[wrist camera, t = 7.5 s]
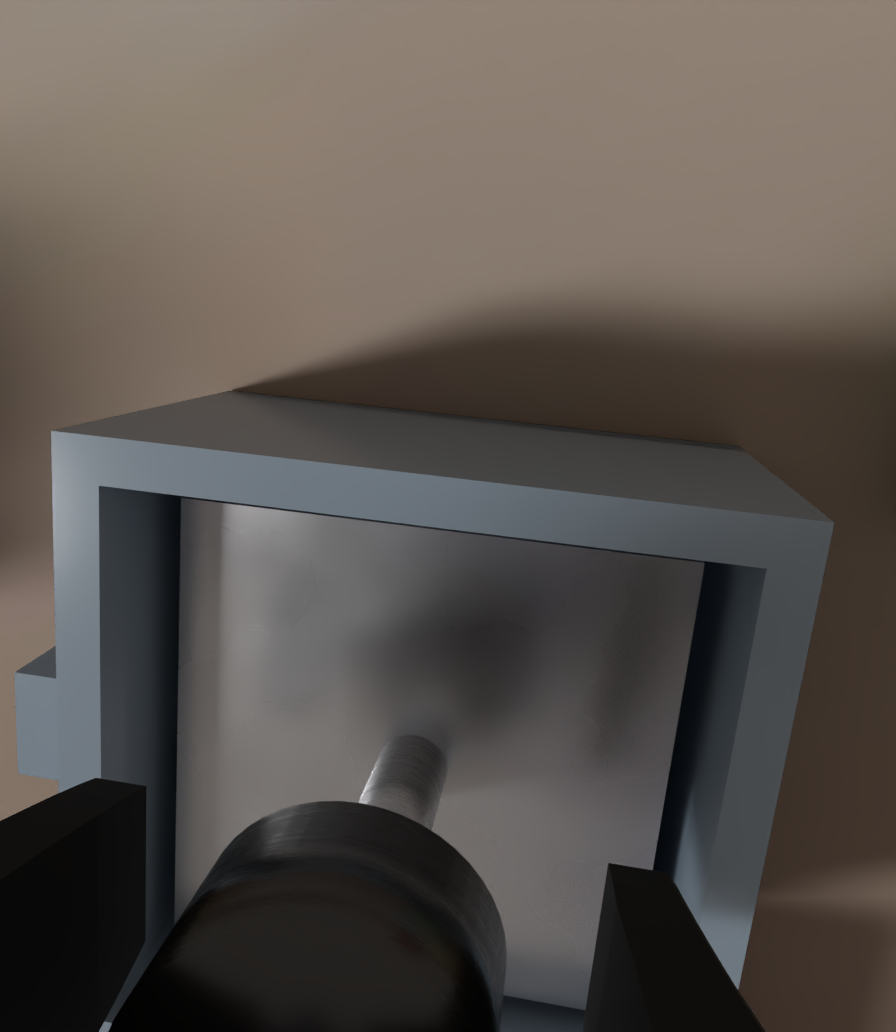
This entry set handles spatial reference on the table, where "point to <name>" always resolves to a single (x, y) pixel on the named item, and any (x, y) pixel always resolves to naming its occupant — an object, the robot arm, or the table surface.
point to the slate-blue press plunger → (405, 768)
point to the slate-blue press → (441, 504)
